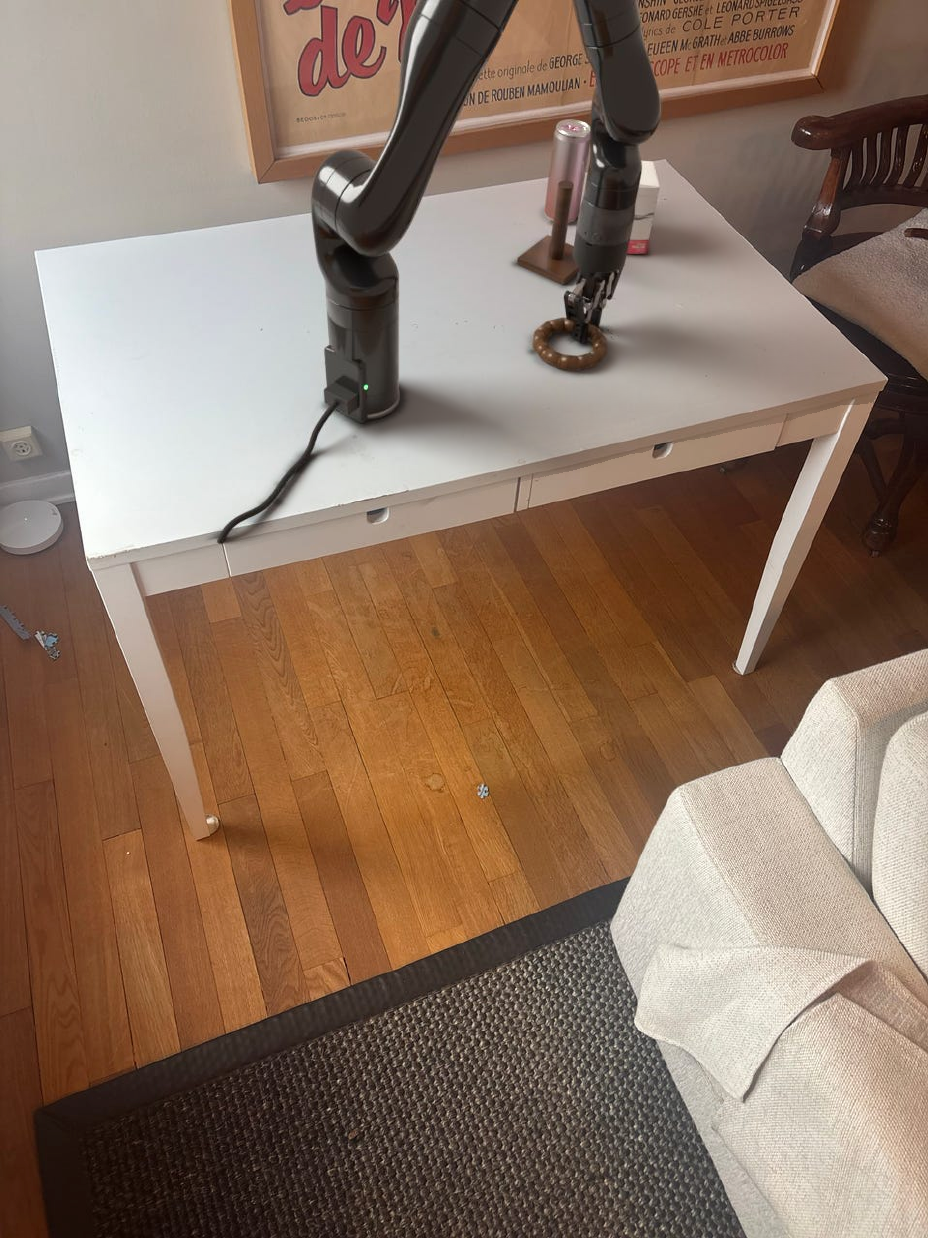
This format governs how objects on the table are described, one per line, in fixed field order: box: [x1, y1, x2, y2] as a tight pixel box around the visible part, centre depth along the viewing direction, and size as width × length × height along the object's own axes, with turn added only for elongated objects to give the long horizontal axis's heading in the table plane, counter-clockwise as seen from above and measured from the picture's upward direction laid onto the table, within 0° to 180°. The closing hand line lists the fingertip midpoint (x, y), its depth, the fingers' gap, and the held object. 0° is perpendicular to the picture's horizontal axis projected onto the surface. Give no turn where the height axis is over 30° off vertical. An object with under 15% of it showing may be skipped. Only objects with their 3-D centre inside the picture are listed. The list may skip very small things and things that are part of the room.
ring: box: [532, 317, 608, 371], centre depth 143 cm, size 11×11×2 cm
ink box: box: [627, 160, 661, 255], centre depth 158 cm, size 9×5×12 cm, turn 0°
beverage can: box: [544, 118, 590, 224], centre depth 160 cm, size 6×6×15 cm
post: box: [516, 181, 580, 285], centre depth 152 cm, size 9×9×13 cm
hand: (584, 333), depth 146 cm, fingers open, 3 cm apart
